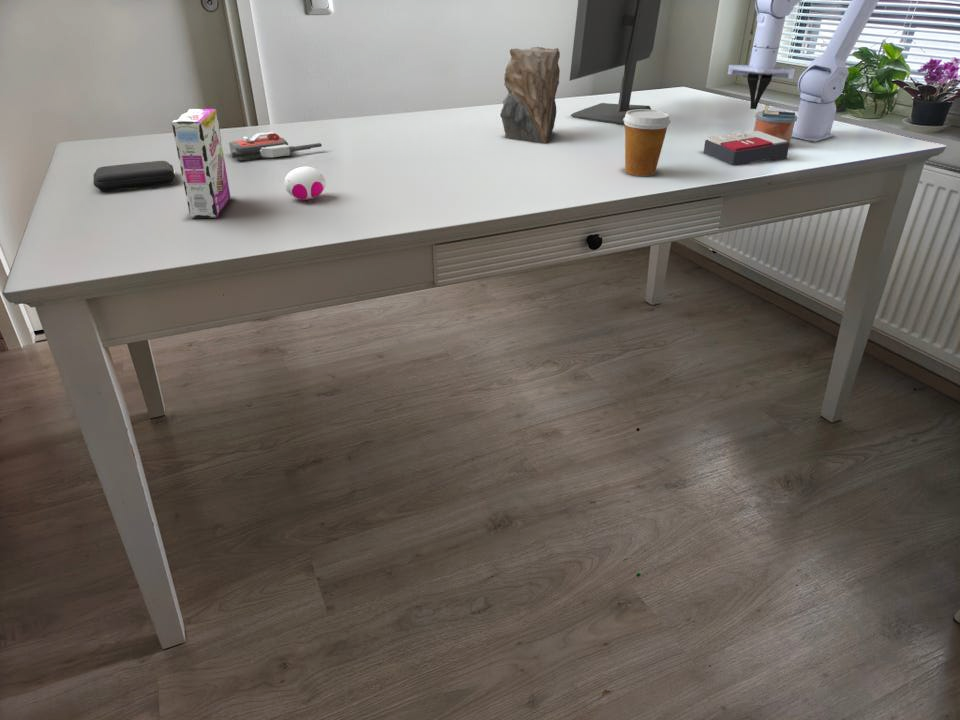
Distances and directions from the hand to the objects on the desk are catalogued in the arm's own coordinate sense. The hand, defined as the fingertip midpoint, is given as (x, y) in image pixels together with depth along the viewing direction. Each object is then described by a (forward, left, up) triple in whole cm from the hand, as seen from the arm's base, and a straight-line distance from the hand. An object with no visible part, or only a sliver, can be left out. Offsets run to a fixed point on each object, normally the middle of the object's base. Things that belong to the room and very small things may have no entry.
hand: (753, 108), depth 168 cm
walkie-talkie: (+96, -59, -8) cm, 113 cm away
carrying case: (+127, -56, -8) cm, 139 cm away
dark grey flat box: (+12, +7, -8) cm, 16 cm away
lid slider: (-2, +4, -1) cm, 4 cm away
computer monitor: (+5, -39, -8) cm, 40 cm away
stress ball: (+105, -26, -8) cm, 109 cm away
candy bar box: (+121, -32, -8) cm, 126 cm away
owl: (+39, -35, -8) cm, 53 cm away
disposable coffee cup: (+41, +1, -8) cm, 42 cm away
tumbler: (-3, +5, -8) cm, 10 cm away
